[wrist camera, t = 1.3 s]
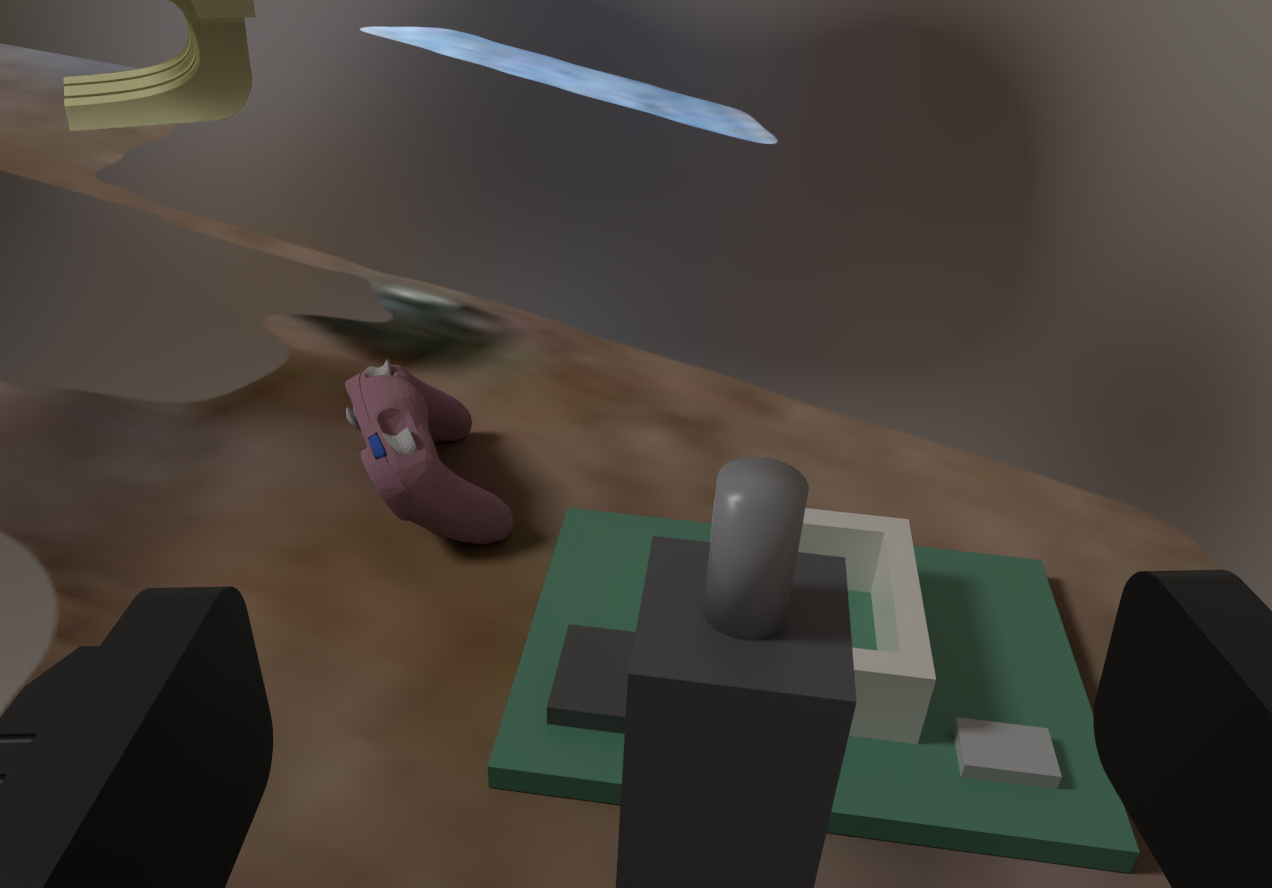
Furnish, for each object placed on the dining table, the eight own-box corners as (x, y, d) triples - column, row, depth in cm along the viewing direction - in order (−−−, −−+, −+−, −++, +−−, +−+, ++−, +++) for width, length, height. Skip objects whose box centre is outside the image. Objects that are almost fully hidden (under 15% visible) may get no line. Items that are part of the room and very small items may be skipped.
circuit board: (488, 787, 33) (484, 699, 30) (567, 526, 44) (568, 449, 42) (1129, 873, 31) (1172, 786, 29) (1034, 578, 43) (1060, 501, 40)
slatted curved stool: (274, 142, 89) (240, -86, 79) (71, 159, 83) (8, -86, 73) (229, 66, 111) (198, -119, 102) (67, 74, 105) (18, -122, 95)
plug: (605, 1073, 25) (636, 539, 16) (629, 899, 29) (665, 392, 20) (764, 1097, 25) (887, 567, 16) (767, 919, 29) (867, 413, 20)
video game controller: (397, 466, 50) (315, 363, 46) (476, 419, 50) (402, 312, 46) (433, 592, 43) (339, 483, 38) (527, 537, 43) (444, 422, 38)
